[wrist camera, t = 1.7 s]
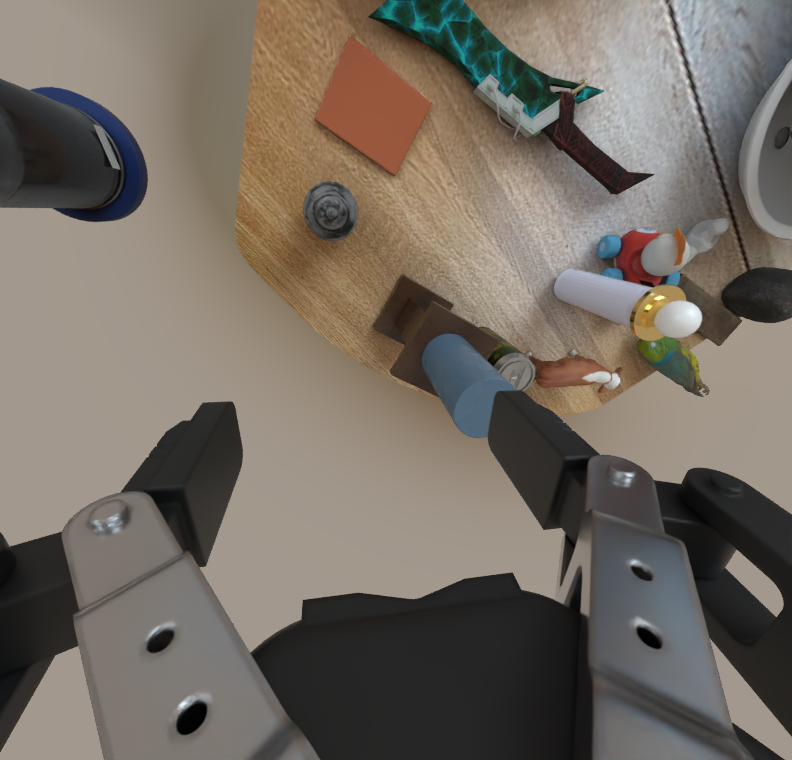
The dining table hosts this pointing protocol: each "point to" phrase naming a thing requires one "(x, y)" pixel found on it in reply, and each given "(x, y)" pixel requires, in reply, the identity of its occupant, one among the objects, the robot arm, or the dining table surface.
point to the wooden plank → (709, 312)
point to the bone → (704, 237)
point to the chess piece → (330, 211)
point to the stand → (424, 329)
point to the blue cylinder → (463, 382)
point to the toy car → (645, 256)
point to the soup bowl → (769, 160)
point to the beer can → (511, 363)
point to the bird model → (674, 362)
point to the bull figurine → (573, 372)
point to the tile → (372, 107)
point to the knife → (507, 82)
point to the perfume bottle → (631, 304)
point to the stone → (761, 295)
